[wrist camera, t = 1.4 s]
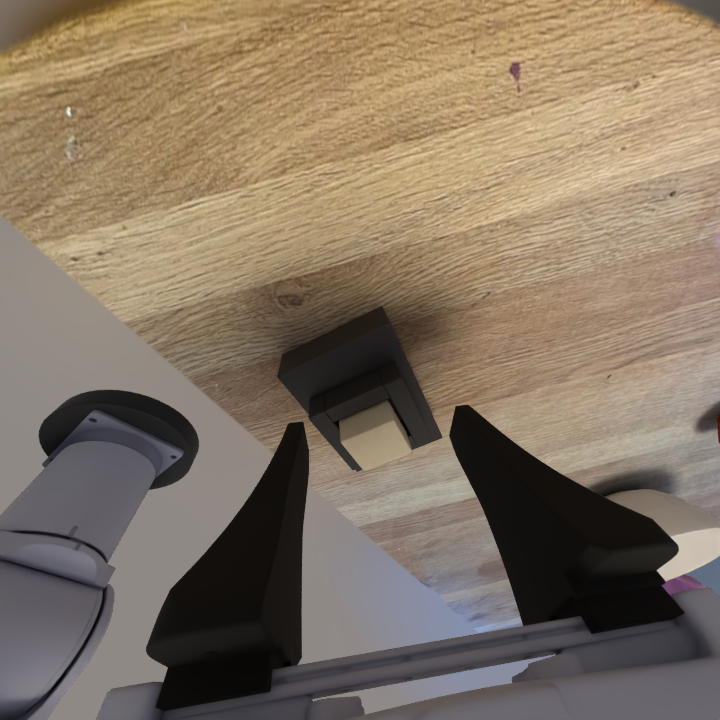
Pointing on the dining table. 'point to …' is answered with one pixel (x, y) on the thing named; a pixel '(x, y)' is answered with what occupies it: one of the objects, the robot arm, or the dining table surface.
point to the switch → (374, 436)
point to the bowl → (677, 528)
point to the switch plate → (357, 380)
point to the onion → (719, 424)
